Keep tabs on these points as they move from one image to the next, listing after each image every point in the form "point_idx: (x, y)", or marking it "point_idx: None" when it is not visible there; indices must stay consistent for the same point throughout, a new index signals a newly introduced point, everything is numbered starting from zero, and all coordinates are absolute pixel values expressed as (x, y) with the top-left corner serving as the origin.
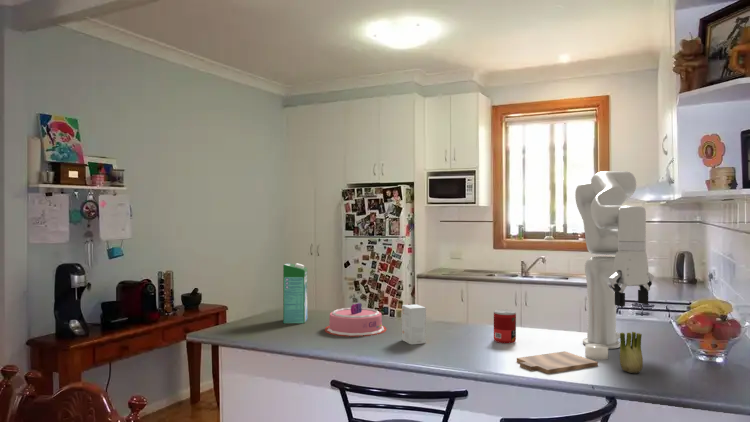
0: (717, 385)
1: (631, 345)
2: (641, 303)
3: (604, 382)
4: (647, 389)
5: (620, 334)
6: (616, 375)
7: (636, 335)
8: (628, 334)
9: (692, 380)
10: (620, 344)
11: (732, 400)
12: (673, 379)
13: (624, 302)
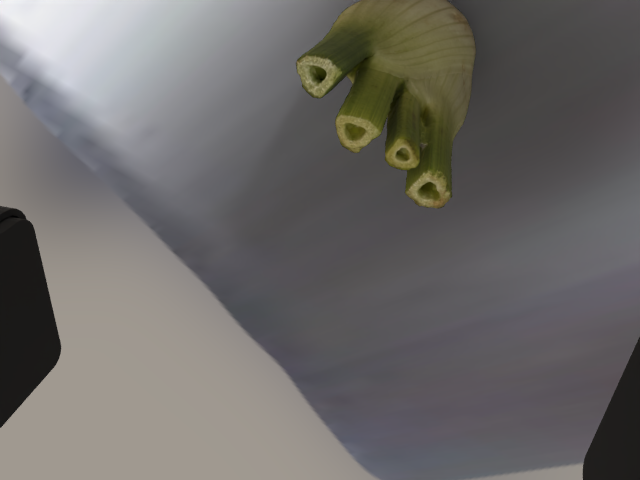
0: (565, 393)
1: (399, 98)
2: (630, 378)
3: (118, 87)
4: (228, 253)
5: (299, 61)
6: (274, 39)
7: (422, 162)
8: (337, 131)
9: (555, 308)
10: (326, 36)
11: (403, 464)
12: (488, 251)
13: (6, 402)
